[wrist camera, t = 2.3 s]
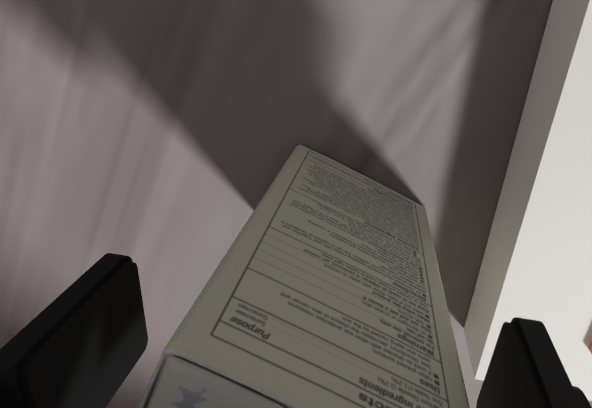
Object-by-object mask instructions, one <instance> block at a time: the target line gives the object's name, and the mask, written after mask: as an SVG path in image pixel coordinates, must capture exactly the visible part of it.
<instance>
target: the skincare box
mask: <svg viewBox="0 0 592 408" xmlns="http://www.w3.org/2000/svg"><path fill="white" fill-rule="evenodd" d="M139 408H470V407H469V403H468V398H467V394H466V389H465V385H464V380H463V375H462V371H461V366H460V362H459V357H458V353H457V348H456V344H455V338H454V333H453V329H452V325H451V321H450V316H449V312H448V307H447V302H446V298H445V294H444V289H443V285H442V281H441V276H440V272H439V267H438V261H437V258H436V253H435V249H434V244H433V239H432V235H431V230H430V226H429V221H428V217H427V212H426V209H425V208H424V207H423V206H421V205H420V204H418V203H416V202H414V201H412V200H410V199H408V198H406V197H405V196H403V195H401V194H399V193H397V192H395V191H394V190H392V189H390V188H388V187H386V186H384V185H382V184H380V183H378V182H376V181H374V180H372V179H370V178H368V177H366V176H364V175H362V174H360V173H358V172H356V171H354V170H352V169H350V168H348V167H346V166H344V165H342V164H340V163H338V162H336V161H334V160H332V159H330V158H328V157H326V156H324V155H322V154H320V153H318V152H315V151H313V150H311V149H309V148H307V147H305V146H302V145H297V146H296V147H295V149H294V150H293V152H292V153H291V155H290V156H289V158H288V159H287V161H286V162H285V164H284V165H283V167H282V169H281V170H280V172H279V173H278V175H277V176H276V178H275V180H274V181H273V183H272V184H271V186H270V187H269V189H268V190H267V192H266V193H265V195H264V196H263V198H262V199H261V201H260V202H259V204H258V205H257V207H256V209H255V210H254V212H253V213H252V215H251V216H250V218H249V219H248V221H247V222H246V224H245V225H244V227H243V228H242V230H241V231H240V233H239V235H238V236H237V238H236V239H235V241H234V242H233V244H232V246H231V247H230V249H229V250H228V252H227V253H226V255H225V256H224V258H223V259H222V261H221V262H220V264H219V265H218V267H217V268H216V270H215V272H214V273H213V275H212V276H211V278H210V279H209V281H208V282H207V284H206V285H205V287H204V289H203V290H202V292H201V293H200V295H199V296H198V298H197V299H196V301H195V302H194V304H193V306H192V307H191V309H190V310H189V312H188V313H187V315H186V316H185V318H184V319H183V321H182V322H181V324H180V325H179V327H178V328H177V330H176V332H175V333H174V335H173V336H172V338H171V339H170V341H169V342H168V344H167V345H166V347H165V348H164V350H163V353H162V355H161V358H160V360H159V362H158V365H157V367H156V369H155V371H154V373H153V375H152V377H151V380H150V382H149V385H148V387H147V389H146V392H145V394H144V396H143V398H142V401H141V403H140V405H139Z"/></svg>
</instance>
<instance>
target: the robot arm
mask: <svg viewBox="0 0 592 408" xmlns="http://www.w3.org/2000/svg"><path fill="white" fill-rule="evenodd" d="M147 342H148V336H147V329H146V322H145V315H144V309H143V302H142V295H141V288H140V281H139V275H138V268H137V265H136V263H133V262H132V259H131V258H130V257H129V256H124V255H118V254H111V253H108V254H106V255H104V256H103V257H102V258H101V259H100V260H99V261H97V262H96V263H95V264H94V265H93V266H92V267H91V268H90V269H89V270H88V271H86V272H85V273H84V274H83V275H82V276H81V277H80V278H79V279H78V280H76V281H75V282H74V283H73V284H72V285H71V286H70V287H69V288H68V289H66V290H65V291H64V292H63V293H62V294H61V295H60V296H59V297H58V298H57V299H55V300H54V301H53V302H52V303H51V304H50V305H49V306H48V307H47V308H45V309H44V310H43V311H42V312H41V313H40V314H39V315H38V316H37V317H35V318H34V319H33V320H32V321H31V322H30V323H29V324H28V325H27V326H26V327H24V328H23V329H22V330H21V331H20V332H19V333H18V334H17V335H16V336H14V337H13V338H12V339H11V340H10V341H9V342H8V343H7V344H6V345H5V346H3V347H2V348H1V349H0V408H105V407H106V406H107V404H108V403H109V401H110V400H111V398H112V397H113V396H114V394H115V393H116V391H117V390H118V388H119V387H120V386H121V384H122V383H123V381H124V380H125V378H126V377H127V375H128V374H129V373H130V371H131V370H132V368H133V367H134V365H135V364H136V363H137V361H138V360H139V358H140V357H141V355H142V354H143V352H144V351H145V349H146V346H147ZM476 408H591V406H590V404H589V402H588V400H587V398H586V396H585V394H584V393H583V391H582V390H581V389H579V388H578V387H575V386H572V384H571V382H570V380H569V377H568V375H567V373H566V371H565V369H564V367H563V364H562V362H561V360H560V358H559V356H558V354H557V351H556V349H555V347H554V345H553V343H552V340H551V338H550V336H549V334H548V332H547V330H546V327H545V325H544V324H543V322H541V321H537V320H530V319H524V318H518V317H515V318H513V319H512V321H511V323H509V322H504V323H503V325H502V328H501V331H500V334H499V337H498V340H497V343H496V346H495V349H494V352H493V355H492V358H491V361H490V364H489V367H488V370H487V373H486V376H485V379H484V382H483V385H482V388H481V391H480V394H479V397H478V400H477V407H476Z"/></svg>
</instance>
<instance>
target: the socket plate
mask: <svg viewBox="0 0 592 408" xmlns="http://www.w3.org/2000/svg"><path fill="white" fill-rule="evenodd" d="M515 317H518V318H524V319H530V320H537V321H541V322H543V324H544V325H545V327H546V330H547V332H548V334H549V336H550V338H551V340H552V343H553V345H554V347H555V349H556V351H557V354H558V356H559V358H560V360H561V362H562V364H563V367H564V369H565V371H566V373H567V375H568V377H569V380H570V382H571V384H572V386H575V387H578V388H579V389H581V390H582V391H583V393H584V394H585V396H586V398H587V400H590V401H592V0H553V1H552V5H551V9H550V13H549V16H548V20H547V24H546V27H545V31H544V35H543V38H542V42H541V46H540V49H539V53H538V57H537V61H536V64H535V68H534V72H533V75H532V79H531V83H530V86H529V90H528V94H527V97H526V101H525V105H524V109H523V112H522V116H521V120H520V123H519V127H518V131H517V134H516V138H515V142H514V145H513V149H512V153H511V157H510V160H509V164H508V168H507V171H506V175H505V179H504V182H503V186H502V190H501V193H500V197H499V201H498V205H497V208H496V212H495V216H494V219H493V223H492V227H491V230H490V234H489V238H488V242H487V245H486V249H485V253H484V256H483V260H482V264H481V267H480V271H479V275H478V278H477V282H476V286H475V290H474V293H473V297H472V301H471V304H470V308H469V312H468V315H467V319H466V323H465V326H464V332H465V336H466V341H467V346H468V350H469V355H470V359H471V364H472V369H473V373H474V378H475V379H477V380H483V381H484V379H485V376H486V373H487V370H488V367H489V364H490V361H491V358H492V355H493V352H494V349H495V346H496V343H497V340H498V337H499V334H500V331H501V328H502V325H503V323H504V322H509V323H511V321H512V319H513V318H515Z"/></svg>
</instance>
